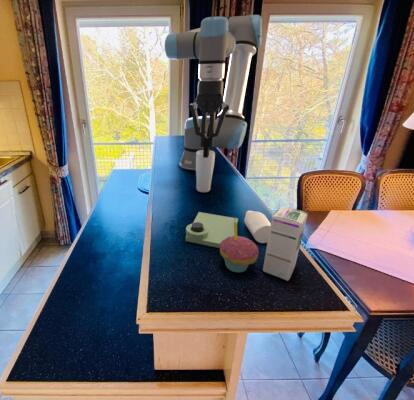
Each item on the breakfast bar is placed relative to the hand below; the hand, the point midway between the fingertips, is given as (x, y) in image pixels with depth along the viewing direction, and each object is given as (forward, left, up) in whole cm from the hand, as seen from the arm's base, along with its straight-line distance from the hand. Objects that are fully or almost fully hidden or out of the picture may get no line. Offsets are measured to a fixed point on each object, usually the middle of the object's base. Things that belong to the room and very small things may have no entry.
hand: (206, 156), depth 89 cm
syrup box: (+33, +25, -15) cm, 44 cm away
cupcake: (+35, +16, -15) cm, 41 cm away
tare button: (+27, +4, -13) cm, 30 cm away
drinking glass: (-6, -1, -15) cm, 17 cm away
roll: (+17, +19, -15) cm, 30 cm away
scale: (+22, +8, -15) cm, 28 cm away
